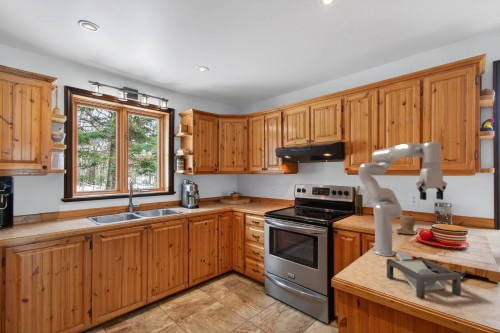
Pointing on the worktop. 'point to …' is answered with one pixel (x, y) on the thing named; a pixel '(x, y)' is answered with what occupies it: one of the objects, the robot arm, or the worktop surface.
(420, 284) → the frame
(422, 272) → the grey cube
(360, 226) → the worktop surface
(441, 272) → the decorative rock
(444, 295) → the worktop surface
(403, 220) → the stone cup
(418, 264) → the trapdoor
